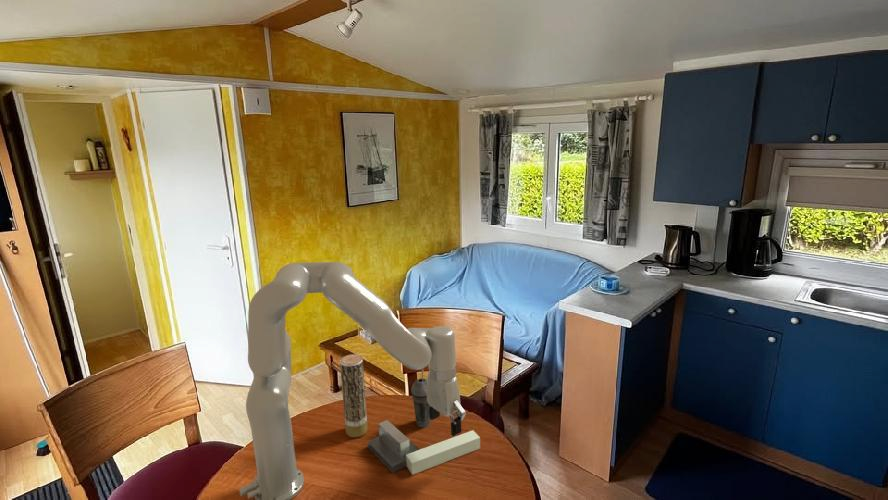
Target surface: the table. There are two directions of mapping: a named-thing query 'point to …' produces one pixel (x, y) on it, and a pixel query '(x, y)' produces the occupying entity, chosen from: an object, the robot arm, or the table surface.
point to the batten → (442, 452)
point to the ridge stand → (391, 446)
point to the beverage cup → (421, 402)
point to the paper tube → (353, 395)
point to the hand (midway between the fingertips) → (445, 425)
